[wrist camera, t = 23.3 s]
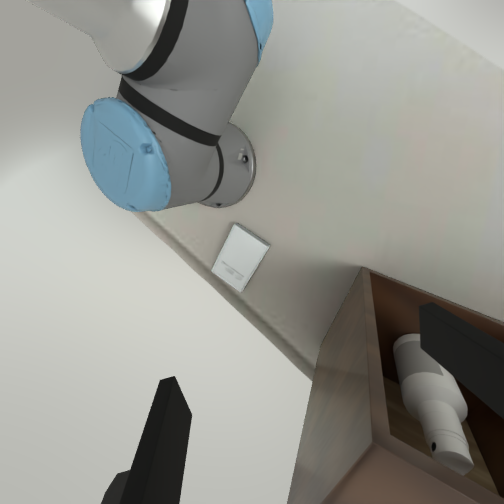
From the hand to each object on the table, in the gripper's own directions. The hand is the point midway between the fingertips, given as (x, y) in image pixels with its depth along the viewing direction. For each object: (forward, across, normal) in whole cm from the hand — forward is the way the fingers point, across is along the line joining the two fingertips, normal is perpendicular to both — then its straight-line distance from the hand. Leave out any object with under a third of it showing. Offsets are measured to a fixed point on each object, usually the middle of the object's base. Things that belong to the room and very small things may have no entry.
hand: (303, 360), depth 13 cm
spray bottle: (+21, +22, -24) cm, 39 cm away
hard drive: (+37, -3, -6) cm, 38 cm away
